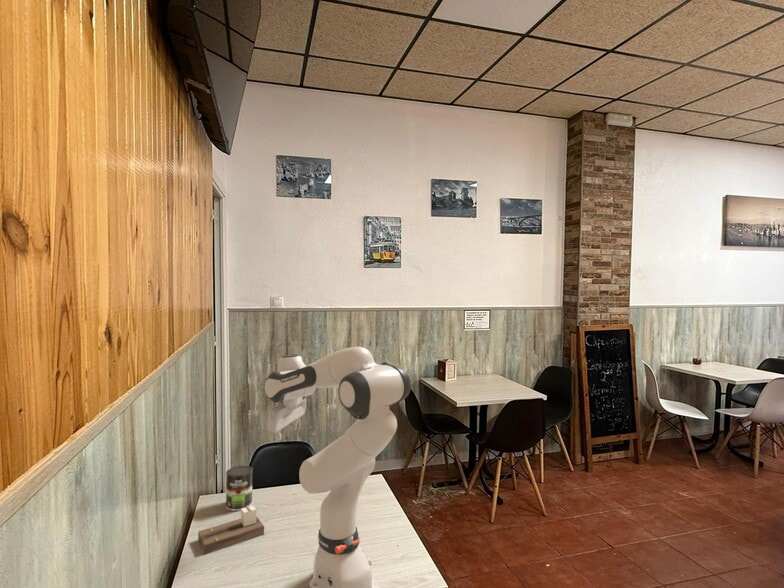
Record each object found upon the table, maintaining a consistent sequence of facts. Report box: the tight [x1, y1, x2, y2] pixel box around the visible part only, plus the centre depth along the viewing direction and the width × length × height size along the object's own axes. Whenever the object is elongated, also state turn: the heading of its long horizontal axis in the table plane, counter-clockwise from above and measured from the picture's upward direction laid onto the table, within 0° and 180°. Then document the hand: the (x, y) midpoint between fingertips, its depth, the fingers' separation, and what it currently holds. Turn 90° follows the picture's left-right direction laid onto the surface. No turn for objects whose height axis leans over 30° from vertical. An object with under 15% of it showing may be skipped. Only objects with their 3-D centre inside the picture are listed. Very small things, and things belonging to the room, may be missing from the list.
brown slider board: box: [197, 515, 265, 555], centre depth 147 cm, size 10×20×3 cm, turn 126°
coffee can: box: [225, 465, 254, 512], centre depth 170 cm, size 10×10×14 cm
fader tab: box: [240, 505, 257, 527], centre depth 151 cm, size 4×4×5 cm
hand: (286, 434), depth 151 cm, fingers open, 8 cm apart
